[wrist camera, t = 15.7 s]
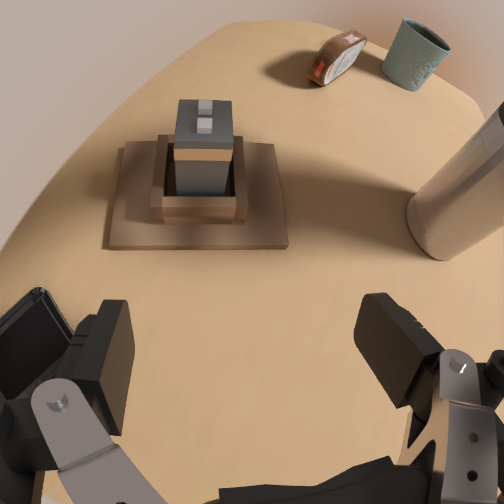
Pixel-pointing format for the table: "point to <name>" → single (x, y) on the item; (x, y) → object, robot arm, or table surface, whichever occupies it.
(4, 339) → the phone
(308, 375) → the table surface
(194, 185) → the cell
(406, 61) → the teal embossed cup
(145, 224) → the dock
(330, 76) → the tin
